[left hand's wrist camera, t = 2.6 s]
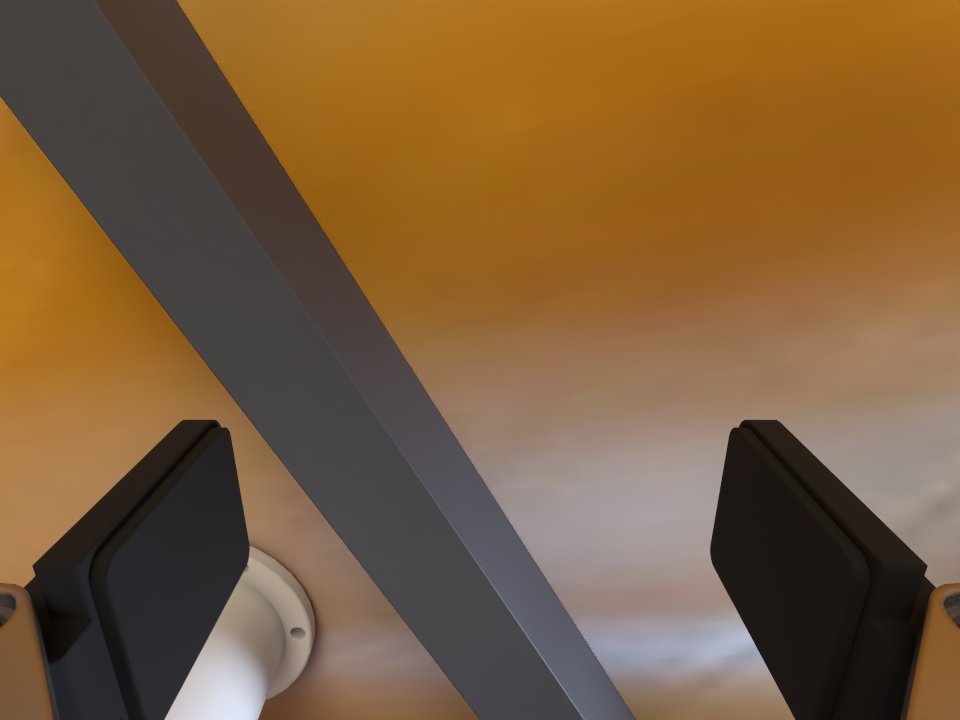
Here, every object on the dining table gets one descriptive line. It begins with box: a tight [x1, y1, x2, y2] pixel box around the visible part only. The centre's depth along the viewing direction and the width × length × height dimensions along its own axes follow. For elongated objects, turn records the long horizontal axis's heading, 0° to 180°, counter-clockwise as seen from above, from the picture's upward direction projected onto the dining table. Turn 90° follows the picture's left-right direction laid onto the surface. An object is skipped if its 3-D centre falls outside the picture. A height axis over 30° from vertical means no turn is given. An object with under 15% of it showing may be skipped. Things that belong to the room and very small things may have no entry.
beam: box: [0, 0, 636, 720], centre depth 30 cm, size 69×4×7 cm, turn 29°
